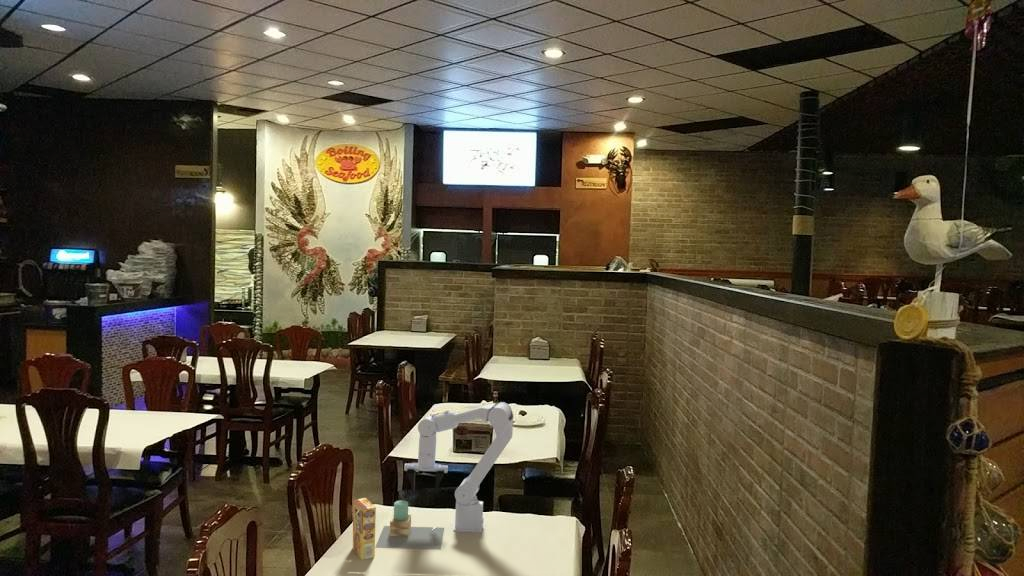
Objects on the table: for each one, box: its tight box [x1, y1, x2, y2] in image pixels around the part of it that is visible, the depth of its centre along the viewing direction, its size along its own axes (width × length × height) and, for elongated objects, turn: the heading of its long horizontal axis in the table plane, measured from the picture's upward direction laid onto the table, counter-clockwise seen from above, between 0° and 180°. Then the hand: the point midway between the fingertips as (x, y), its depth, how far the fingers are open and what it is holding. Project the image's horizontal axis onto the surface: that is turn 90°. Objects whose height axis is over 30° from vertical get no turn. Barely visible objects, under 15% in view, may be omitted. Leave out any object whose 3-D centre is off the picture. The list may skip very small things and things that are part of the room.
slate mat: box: [375, 525, 445, 550], centre depth 203 cm, size 20×16×1 cm
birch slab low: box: [390, 523, 412, 536], centre depth 206 cm, size 6×6×2 cm
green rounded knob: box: [393, 500, 409, 521], centre depth 206 cm, size 5×5×5 cm
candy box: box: [352, 497, 377, 561], centre depth 191 cm, size 9×4×15 cm, turn 33°
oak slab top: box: [389, 513, 412, 529], centre depth 206 cm, size 6×6×2 cm
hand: (424, 492), depth 215 cm, fingers open, 7 cm apart
